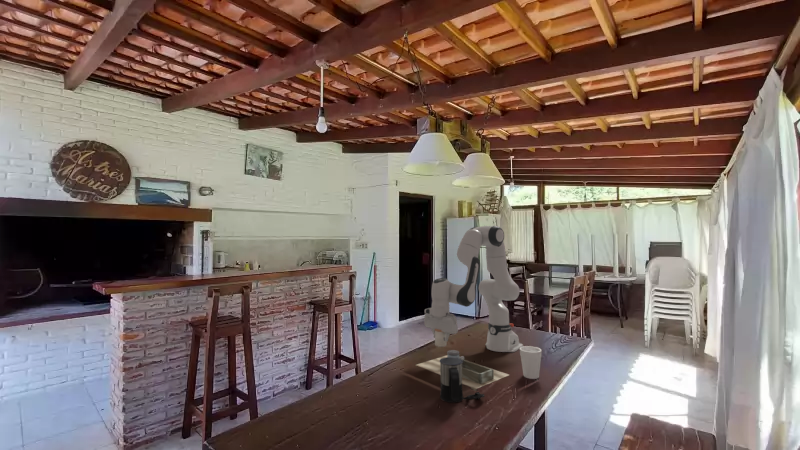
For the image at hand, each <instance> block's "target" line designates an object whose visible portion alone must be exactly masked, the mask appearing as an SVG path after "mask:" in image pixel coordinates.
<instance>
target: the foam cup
mask: <svg viewBox="0 0 800 450" xmlns="http://www.w3.org/2000/svg"><path fill="white" fill-rule="evenodd" d="M542 352H543V351H542V349H541V348H540V347H538V346H532V345H529V346H528V345H525V346H524V345H523V347H520V349H519V355H520V361H521V368H522V374H523V377H524V378H525V379H526V378H527V379H530V380H534V381H535V382H536V381H539V377H540V371H541V359H542V357H543V356H542ZM535 379H536V380H535Z"/></svg>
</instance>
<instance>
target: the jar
mask: <svg viewBox="0 0 800 450" xmlns="http://www.w3.org/2000/svg"><path fill="white" fill-rule="evenodd" d="M445 336H446V334H445V332H442V330H439V329H435V338H434V345H435V347H439V348H440V347H442V348H443V347H446V346H447V341H444V337H445Z"/></svg>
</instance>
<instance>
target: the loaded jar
mask: <svg viewBox="0 0 800 450" xmlns="http://www.w3.org/2000/svg"><path fill="white" fill-rule="evenodd" d="M446 353H447V357H448V358H449V357H452V358H458V357H460V351H459V350H455V349H449V350H447V352H446Z"/></svg>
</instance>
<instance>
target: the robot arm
mask: <svg viewBox="0 0 800 450" xmlns="http://www.w3.org/2000/svg"><path fill="white" fill-rule="evenodd" d="M504 240H505V232H504V230H503V228H502V227H500V226H496V225H492V226H491V225H482V226H473V227H470V228H469V229H468V230H466V232H465V233H464V234H463V236H462V238H461V241H460V243H459V245H458V248H457V249H456V250H457V251H456V258H457V260H458V261H459V262H461V264H463V265H465V266H466V267H467V273H466V277H465V282H464V283H463V284H457V283H456V284H455V283H453V282H450V281H449V280H448V279H447V278H446V277H444V278H443V277H442V278H441V277H440V278H436V279H433V281H432V284H431V300H432V301H431V307H428V308H425V309H424V316H423V317H424V318H423V319H424V321H423V322H424V324H423V325H424V326H425V327H426V328H427V329H428V328H429V329H431V331H432V335H433V338H434V339H435V329H439V330H442V332H445V334H446V336H445V337H444V341H446V342H448V341H449V337H450V335H455V334H457V333H458V331H459V329H458V328H459V327H458V321H457V316H456V315H455V314H454V313H451V312H450V303H451V304H455V305H460V306H463V307H465V308H466V307H467V308H468V307H470V306H471V305H473V304H474V302H475V301H476V298H477V297H476V294H477V290H476V289H477V284H478V279H479V274H480V269H481V262H480V259H479V253H480V251H481V247H485V257H486V258H485V260H486V269H487V271H488V273H489V274H491V276H492V277H493V279H492V278H488V279H487V278H486V279H482V280H481V281H480V282H479V284H478V292H479V294H480V295H481V296H482V297H483V299H484V301H485V303H486V305H487V309H488V327H487V328H488V330H487V334H486V335H487V336H486V337H487V338H486V343H485V346H486V349H487V350H490V351H493V352H497V353H498V352H499V353H501V352H502V353H515V352H516V351H518V350H520V347H524V344H523V343H521V342H520V340H519V336H518V334H516V332H514V331H513V330H512V328H514V325H515V324H514V323H510V312H509V309H508V307H506V306H505V304H504V303H503V301H507V302H508V301H515V300H517V299H518V297H519V295H520V291H521V290H520V287H519V285H518V284H517V283H516V282H515V281H514V280H513V278H512V277H511V275H510V273H509V270H508V264H507V262H508V261H507V252H506V246H505V242H504Z"/></svg>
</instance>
